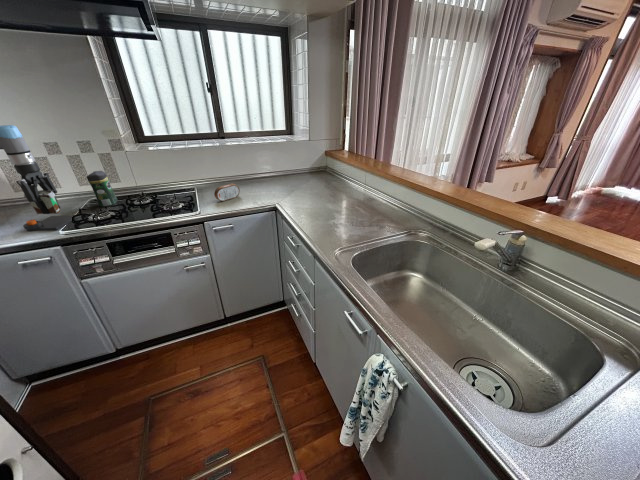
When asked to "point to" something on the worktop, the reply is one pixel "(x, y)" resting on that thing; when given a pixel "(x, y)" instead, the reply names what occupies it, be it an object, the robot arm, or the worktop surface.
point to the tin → (227, 192)
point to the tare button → (31, 222)
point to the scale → (49, 223)
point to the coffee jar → (102, 188)
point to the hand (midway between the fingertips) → (52, 211)
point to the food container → (46, 202)
